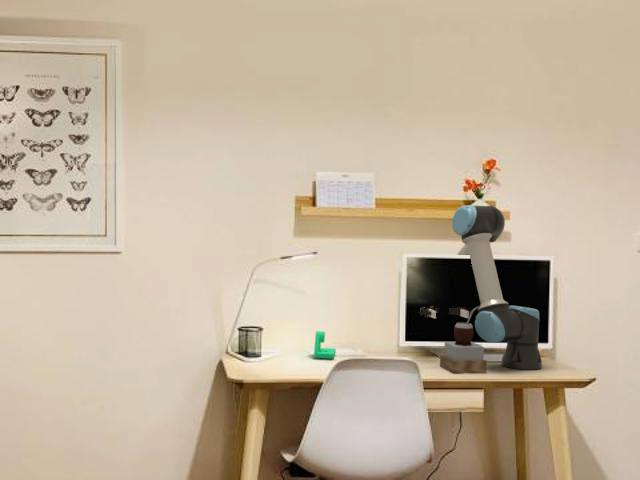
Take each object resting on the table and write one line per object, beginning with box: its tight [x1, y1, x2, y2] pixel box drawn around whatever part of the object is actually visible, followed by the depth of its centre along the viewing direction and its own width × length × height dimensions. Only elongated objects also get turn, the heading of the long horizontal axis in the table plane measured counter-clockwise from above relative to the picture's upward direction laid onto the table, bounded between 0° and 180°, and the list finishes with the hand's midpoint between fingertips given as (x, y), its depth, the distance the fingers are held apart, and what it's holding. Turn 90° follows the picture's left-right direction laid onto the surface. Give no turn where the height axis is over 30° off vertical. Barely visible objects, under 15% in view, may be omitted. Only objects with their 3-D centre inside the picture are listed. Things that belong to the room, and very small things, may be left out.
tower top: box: [443, 341, 485, 361], centre depth 290 cm, size 11×11×5 cm
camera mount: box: [313, 330, 336, 360], centre depth 306 cm, size 12×8×10 cm, turn 175°
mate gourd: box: [453, 305, 480, 346], centre depth 290 cm, size 8×8×15 cm
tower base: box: [439, 354, 488, 375], centre depth 291 cm, size 13×13×5 cm
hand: (451, 314), depth 300 cm, fingers open, 13 cm apart
